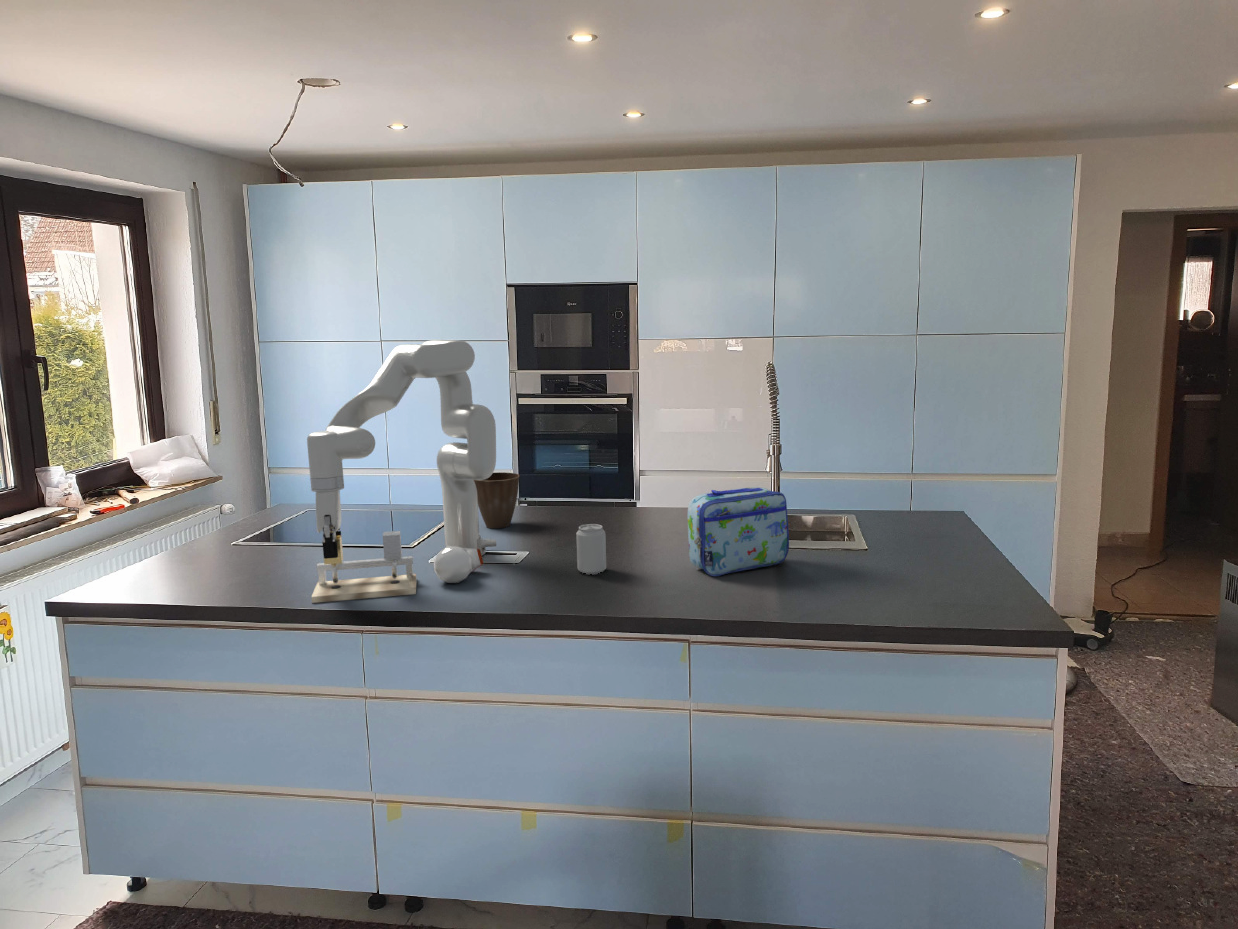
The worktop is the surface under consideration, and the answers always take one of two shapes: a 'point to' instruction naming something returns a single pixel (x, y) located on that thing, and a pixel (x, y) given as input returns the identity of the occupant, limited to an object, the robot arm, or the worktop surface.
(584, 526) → the can
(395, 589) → the hole plate
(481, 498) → the plant pot
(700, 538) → the lunch box
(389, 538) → the trammel frame
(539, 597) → the worktop surface
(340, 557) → the block
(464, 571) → the potion bottle
